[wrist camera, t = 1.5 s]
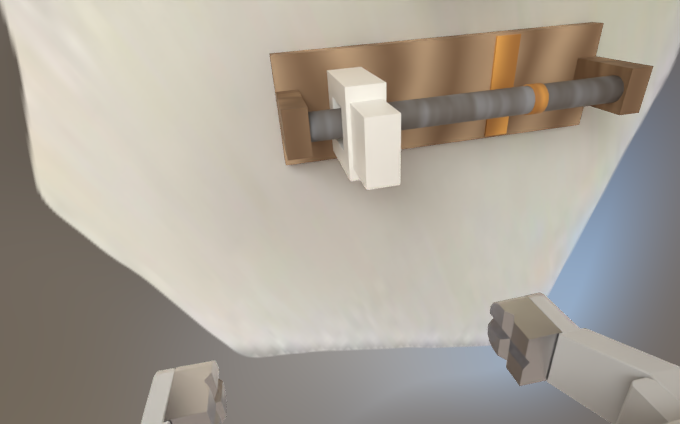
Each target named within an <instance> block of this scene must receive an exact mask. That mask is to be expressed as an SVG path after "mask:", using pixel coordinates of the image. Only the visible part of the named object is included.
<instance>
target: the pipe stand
mask: <svg viewBox="0 0 680 424" xmlns="http://www.w3.org/2000/svg"><path fill="white" fill-rule="evenodd" d="M603 24H604V23H595V22H590V23H580V24H569V25H559V26H549V27H538V28H528V29H518V30H508V31H497V32H487V33H477V34H466V35H456V36H446V37H436V38H425V39H415V40H405V41H395V42H384V43H374V44H364V45H353V46H343V47H333V48H323V49H312V50H302V51H292V52H281V53H271V54H270V60H271V67H272V74H273V81H274V88H275V95H276V101H277V108H278V115H279V122H280V129H281V136H282V143H283V150H284V157H285V162H286V165H292V164H299V163H307V162H314V161H321V160H328V159H335V158H337V157H336V155H335V153H334V151H333V142H332V139H340V138H343V129H342V113H341V108H337V109H330V104H329V92H328V79H327V70H335V69H344V68H354V67H362V68H364V69H365V70H367V71H369V72H370V73H372V74H373V75H375V76H377V77H378V78H380V79H381V80H383V81H385V82H386V102H387V103H389V104H390V105H391V106H392V107H394V108H395V109H396V110H398V111H399V112H400V113H401V149H407V148H415V147H422V146H429V145H436V144H443V143H451V142H458V141H465V140H472V139H479V138H487V137H494V136H501V135H508V134H516V133H523V132H530V131H537V130H544V129H552V128H559V127H566V126H573V125H579V123H580V119H581V115H582V111H583V106H592V107H596V108H599V109H602V110H605V111H608V112H611V113H614V114H617V115H624V114H632V113H639V110H640V107H641V104H642V101H643V97H644V94H645V91H646V88H647V85H648V82H649V78H650V75H651V72H652V69H653V66H649V65H643V64H637V63H631V62H626V61H620V60H614V59H608V58H602V57H597V56H596V53H597V49H598V44H599V40H600V36H601V32H602V28H603Z"/></svg>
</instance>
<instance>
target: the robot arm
mask: <svg viewBox="0 0 680 424" xmlns="http://www.w3.org/2000/svg"><path fill="white" fill-rule="evenodd" d="M490 314H491V315H492V316H493V319H492V320H491V322H490V323H489V324H488V337H489V341H490V343H491V346H492V348H493V349H494V351H495V352H496V354H497V355H498V356H500V357H502V358H504V359H505V360H507V364H506V367H507V369H508V371H509V372H510V373H511V374H512V376H513V377H514V379H515V380H516V381H517V383H518V384H519V386H522V385H527V384H531V383H536V382H541V381H546V380H547V382H548V383H550V384H551V385H553V386H554V387H556V388H558V389H559V390H561V391H562V392H564V393H565V394H567V395H568V396H570V397H571V398H573V399H575V400H576V401H578V402H579V403H581V404H582V405H584V406H585V407H587V408H589V409H590V410H592V411H594V412H595V413H596V414H598V415H599V416H601V417H603V418H604V419H606V420H607V421H609V422H610V423H612V424H680V367H679V366H676V365H674V364H671V363H669V362H666V361H664V360H662V359H659V358H656V357H654V356H651V355H649V354H647V353H644V352H642V351H640V350H637V349H635V348H632V347H630V346H627V345H625V344H623V343H620V342H618V341H615V340H613V339H610V338H608V337H606V336H603V335H601V334H598V333H596V332H593V331H591V330H589V329H586V328H583V329H580V328H579V327H578V326H577V325H576V324H575V323H574V322H572V321H571V320H570V319H569V318H568V317H567V316H566V315H565V314H564V313H563V312H562V311H561V310H560V309H559V308H558V307H557V306H556V305H555V304H553V302H551V301H550V300H549V299H548V298H547V297H546V296H545V295H544V294H542V293H536V294H531V295H526V296H523V297H517V298H512V299H508V300H503V301H499V302H494V303H493V304H492V305H491V309H490ZM218 377H219V368H218V365H217V362H216V361H209V362H204V363H198V364H192V365H187V366H181V367H177V368H173V369H167V370H162V371H157V373H156V374H155V376H154V378H153V382H152V385H151V389H150V392H149V396H148V399H147V403H146V407H145V410H144V414H143V418H142V421H141V424H222V422H223V421H224V419H225V418H226V413H227V402H226V392H225V387H224V384H223V381H222V380H220V379H218Z"/></svg>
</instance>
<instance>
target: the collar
mask: <svg viewBox="0 0 680 424" xmlns="http://www.w3.org/2000/svg"><path fill="white" fill-rule="evenodd" d="M327 79H328V92H329V104H330V109H337V108H341V113H342V129H343V138H340V139H332V142H333V151H334V153H335V155H336V157H337V158H338V160H339V162H340V164H341V166H342V167H343V169H344V171H345V173H346V175H347V177H348V178H349V180H350V181H357V180H361V182H362V183H363V185H364V186H365V188H366V190H371V189H377V188H384V187H390V186H397V185H400V170H401V113H400V112H399V111H398V110H396V109H395V108H394V107H392V106H391V105H390V104H389V103H387V102H386V82H385V81H383V80H381V79H380V78H378V77H377V76H375V75H373V74H372V73H370V72H369V71H367V70H365V69H364V68H362V67H354V68H344V69H335V70H327Z"/></svg>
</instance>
